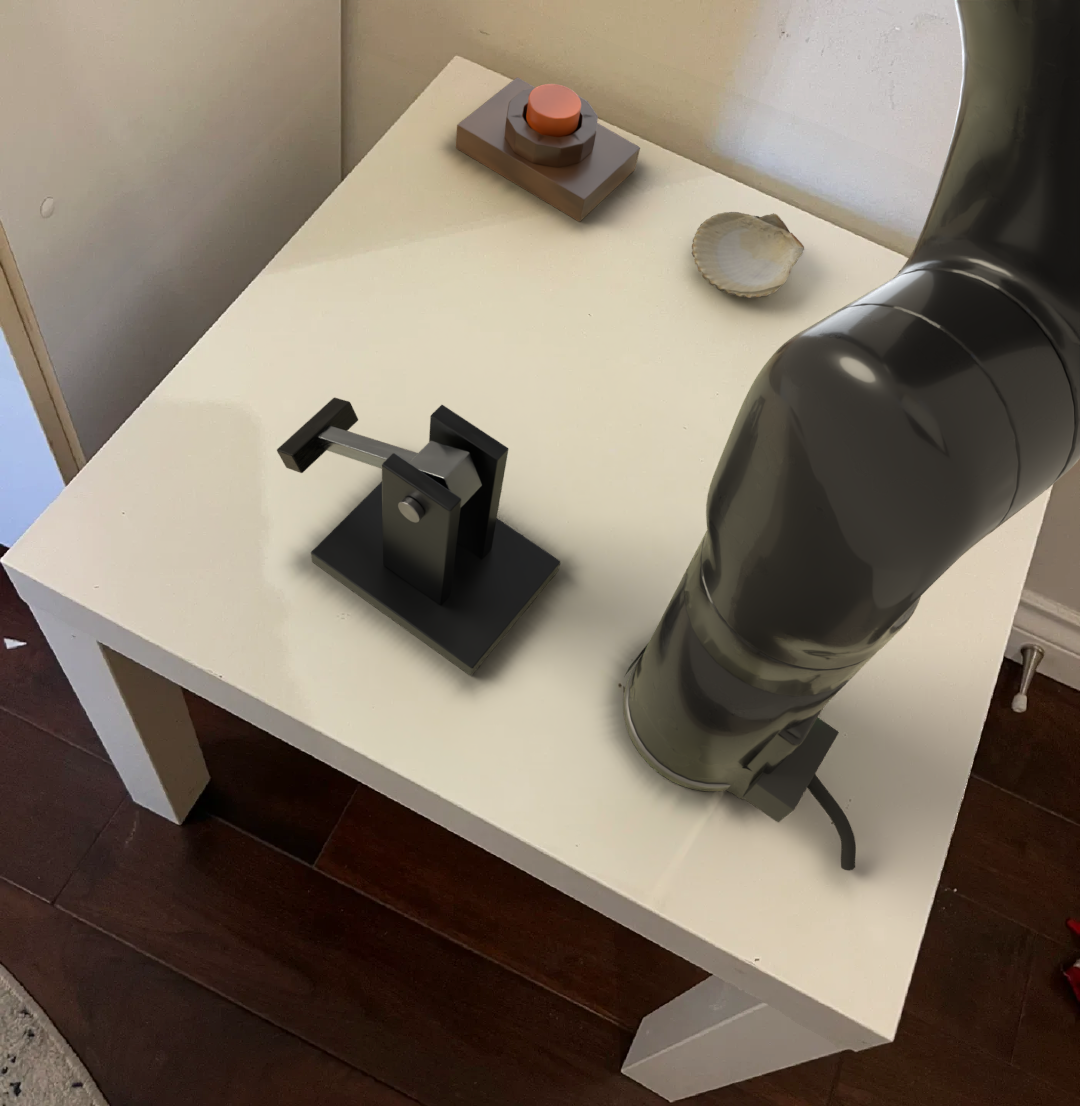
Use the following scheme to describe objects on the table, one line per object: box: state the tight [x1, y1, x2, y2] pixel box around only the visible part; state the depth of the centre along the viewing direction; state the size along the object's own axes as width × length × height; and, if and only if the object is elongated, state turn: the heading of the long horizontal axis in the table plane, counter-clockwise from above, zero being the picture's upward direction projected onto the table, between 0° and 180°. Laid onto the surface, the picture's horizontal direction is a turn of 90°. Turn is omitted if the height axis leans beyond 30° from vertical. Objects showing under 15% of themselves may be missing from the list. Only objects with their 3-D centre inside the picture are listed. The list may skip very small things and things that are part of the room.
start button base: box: [455, 77, 641, 223], centre depth 81 cm, size 12×8×4 cm, turn 55°
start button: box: [526, 83, 581, 137], centre depth 79 cm, size 4×4×2 cm
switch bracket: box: [310, 404, 562, 677], centre depth 58 cm, size 12×9×12 cm
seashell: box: [691, 211, 805, 299], centre depth 78 cm, size 8×3×8 cm
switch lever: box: [276, 397, 482, 508], centre depth 57 cm, size 12×5×2 cm, turn 55°
